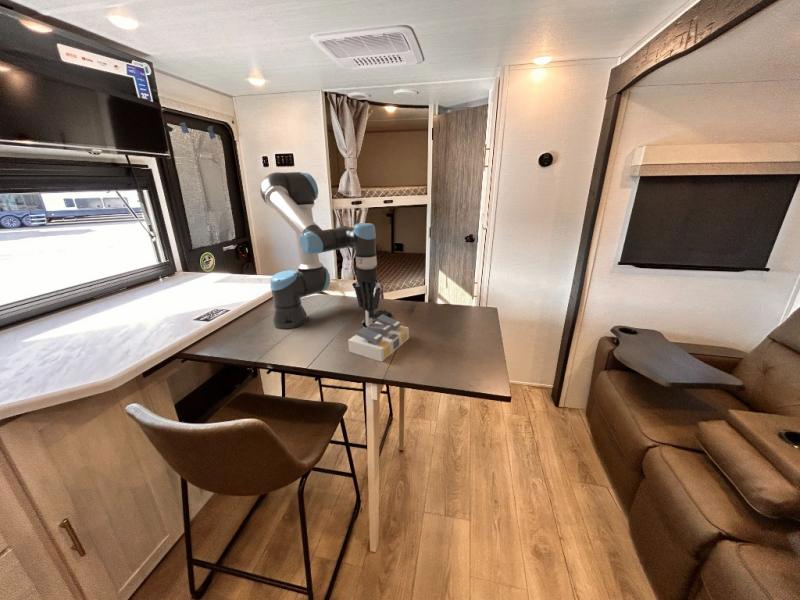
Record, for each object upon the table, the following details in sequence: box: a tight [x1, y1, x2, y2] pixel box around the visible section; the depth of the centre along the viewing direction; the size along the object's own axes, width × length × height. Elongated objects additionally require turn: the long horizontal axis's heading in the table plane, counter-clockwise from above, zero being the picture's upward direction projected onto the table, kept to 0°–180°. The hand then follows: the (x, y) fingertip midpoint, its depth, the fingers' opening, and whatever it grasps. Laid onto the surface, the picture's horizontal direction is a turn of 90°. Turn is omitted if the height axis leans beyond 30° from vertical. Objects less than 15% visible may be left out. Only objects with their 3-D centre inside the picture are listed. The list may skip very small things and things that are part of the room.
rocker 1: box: [356, 326, 383, 344], centre depth 115 cm, size 9×4×2 cm, turn 60°
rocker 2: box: [366, 323, 392, 334], centre depth 121 cm, size 9×4×2 cm, turn 59°
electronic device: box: [361, 309, 394, 328], centre depth 143 cm, size 9×6×15 cm
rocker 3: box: [377, 314, 402, 330], centre depth 126 cm, size 9×4×2 cm, turn 60°
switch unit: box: [347, 321, 410, 363], centre depth 122 cm, size 15×20×6 cm
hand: (369, 324), depth 123 cm, fingers closed
